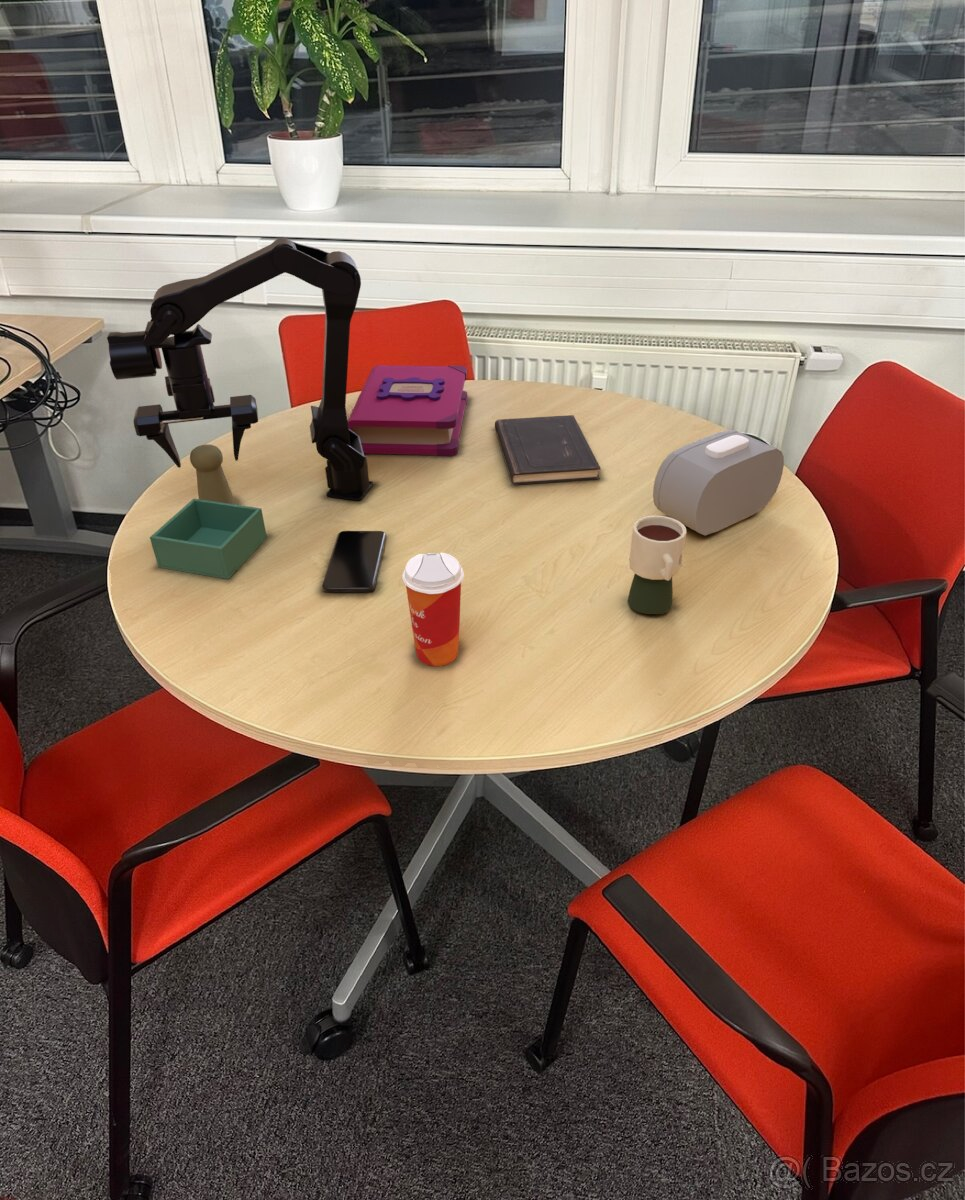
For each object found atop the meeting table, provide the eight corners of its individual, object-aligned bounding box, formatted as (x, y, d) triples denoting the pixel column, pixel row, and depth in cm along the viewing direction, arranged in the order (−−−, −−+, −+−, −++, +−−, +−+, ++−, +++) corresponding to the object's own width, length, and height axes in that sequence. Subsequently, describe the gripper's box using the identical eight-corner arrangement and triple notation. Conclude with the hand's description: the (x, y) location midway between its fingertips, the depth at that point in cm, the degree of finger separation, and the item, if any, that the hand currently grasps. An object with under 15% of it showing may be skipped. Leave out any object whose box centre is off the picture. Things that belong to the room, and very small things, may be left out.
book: (347, 454, 158) (342, 416, 153) (372, 395, 180) (369, 361, 176) (456, 456, 157) (455, 418, 152) (468, 397, 179) (467, 363, 175)
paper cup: (408, 636, 114) (401, 551, 105) (464, 632, 114) (461, 547, 106) (409, 674, 107) (401, 586, 99) (468, 670, 108) (465, 583, 99)
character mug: (686, 626, 115) (699, 547, 107) (636, 631, 114) (646, 552, 106) (660, 581, 123) (672, 505, 116) (614, 586, 123) (622, 510, 115)
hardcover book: (573, 425, 167) (573, 414, 166) (599, 479, 149) (600, 467, 148) (494, 430, 166) (494, 419, 164) (511, 485, 147) (511, 473, 146)
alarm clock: (730, 486, 146) (744, 415, 138) (774, 508, 140) (791, 435, 132) (647, 522, 137) (656, 448, 129) (690, 547, 131) (703, 471, 123)
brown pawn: (226, 516, 140) (212, 457, 133) (193, 513, 141) (178, 454, 134) (241, 499, 144) (229, 441, 138) (209, 496, 145) (195, 438, 139)
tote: (267, 537, 134) (261, 508, 131) (228, 579, 125) (221, 548, 122) (200, 527, 137) (193, 498, 134) (158, 567, 128) (149, 537, 124)
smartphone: (374, 593, 122) (387, 534, 134) (374, 588, 121) (386, 530, 134) (321, 593, 122) (338, 534, 135) (320, 588, 121) (338, 529, 134)
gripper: (247, 348, 136) (263, 435, 146) (128, 360, 133) (153, 448, 142) (249, 373, 128) (266, 464, 137) (122, 386, 124) (148, 478, 134)
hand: (208, 462), depth 138 cm, fingers open, 9 cm apart
